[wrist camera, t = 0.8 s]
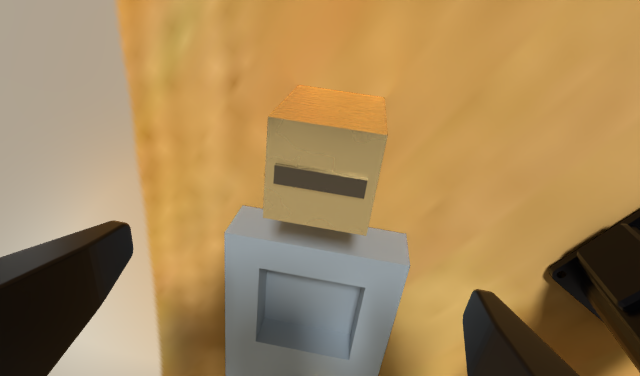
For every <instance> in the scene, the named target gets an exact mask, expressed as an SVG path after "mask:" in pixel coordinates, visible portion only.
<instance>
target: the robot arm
mask: <svg viewBox="0 0 640 376" xmlns="http://www.w3.org/2000/svg"><path fill="white" fill-rule="evenodd" d="M132 254H133V242H132V235H131V229H130V226H129V225H128V224H127V223H124V222H119V221H109V222H106V223H103V224H100V225H97V226H94V227H91V228H88V229H85V230H82V231H79V232H76V233H73V234H70V235H67V236H64V237H61V238H58V239H55V240H52V241H49V242H46V243H43V244H40V245H37V246H34V247H31V248H28V249H24V250H21V251H18V252H16V253H13V254H10V255H6V256H3V257H1V258H0V376H47V375H48V374H49V373H50V371H51V370H52V369H53V367H54V366H55V365H56V364H57V362H58V361H59V360H60V358H61V357H62V356H63V354H64V353H65V352H66V351H67V349H68V348H69V347H70V345H71V344H72V343H73V341H74V340H75V339H76V337H77V336H78V335H79V334H80V332H81V331H82V330H83V328H84V327H85V326H86V325H87V323H88V322H89V321H90V319H91V318H92V317H93V315H94V314H95V313H96V311H97V310H98V309H99V307H100V306H101V305H102V303H103V302H104V300H105V299H106V297H107V295H108V294H109V292H110V291H111V289H112V287H113V286H114V284H115V282H116V281H117V279H118V278H119V276H120V274H121V273H122V271H123V269H124V268H125V266H126V265H127V263H128V261H129V260H130V258H131V256H132ZM560 271H563V272H562V273H559V274H557V273H558V272H560ZM549 273H550V275H551V276H552V278H553V279H554V280H555V281H556V282H557V283H558V284H560V285H561V286H562V287H563V288H564V289H565V290H567V291H568V292H569V293H570V294H571V295H572V296H574V297H575V298H576V299H577V300H578V301H579V302H581V303H582V304H583V305H584V306H585V307H586V308H588V309H589V310H590V311H591V312H592V313H593V314H595V315H596V316H597V317H598V318H599V319H600V320H602V321H603V322H604V323H605V325H606V326H607V327H608V329H609V330H610V332H611V333H612V334H613V336H614V337H615V339H616V340H617V341H618V343H619V344H620V346H621V347H622V348H623V350H624V351H625V353H626V354H627V355H628V357H629V358H630V360H631V361H632V362H633V364H634V365H635V367H636V368H637V369H638V371H639V372H640V210H639V211H637V212H635V213H634V214H632V215H631V216H629V217H628V218H626V219H625V220H623V221H621V222H620V223H618V224H617V225H615V226H614V227H612V228H610V229H609V230H607V231H606V232H604V233H603V234H601V235H599V236H598V237H596V238H595V239H593V240H592V241H590V242H588V243H587V244H585V245H584V246H582V247H581V248H579V249H577V250H576V251H574V252H573V253H571V254H570V255H568V256H566V257H565V258H563V259H562V260H560V261H559V262H557V263H556V264H554V265H552V266H551V267H550V269H549ZM463 331H464V341H465V352H466V363H467V374H468V376H579V375H578V374H577V373H576V372H575V371H574V370H573V369H572V368H571V367H570V366H569V365H568V364H567V363H566V362H565V361H564V360H563V359H561V358H560V357H559V356H558V355H557V354H556V353H555V352H554V351H553V350H552V349H551V348H550V347H549V346H548V345H547V344H546V343H545V342H544V341H543V340H542V339H541V338H540V337H539V336H538V335H537V334H535V333H534V332H533V331H532V330H531V329H530V328H529V327H528V326H527V325H526V324H525V323H524V322H523V321H522V320H521V319H520V318H519V317H518V316H517V315H516V314H515V313H514V312H513V311H512V310H511V309H510V308H508V307H507V306H506V305H505V304H504V303H503V302H502V301H501V300H500V299H499V298H498V297H497V296H496V295H495V294H494V293H492V292H490V291H485V290H479V289H476V290H474V291H473V292H472V294H471V297H470V299H469V302H468V304H467V306H466V309H465V311H464V314H463Z"/></svg>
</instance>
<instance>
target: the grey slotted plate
mask: <svg viewBox="0 0 640 376" xmlns="http://www.w3.org/2000/svg"><path fill="white" fill-rule="evenodd" d="M409 268H410V261H409V253H408V245H407V237H406V234H404V233H398V232H392V231H387V230H381V229H375V228H369V227H368V231H367V235H366V236H364V235H358V234H352V233H347V232H341V231H335V230H329V229H324V228H318V227H312V226H307V225H301V224H295V223H290V222H284V221H278V220H272V219H267V218H263V209H260V208H254V207H249V206H242V207H241V209H240V210H239V212H238V213H237V215H236V216H235V218H234V219H233V221H232V222H231V224H230V225H229V227H228V228H227V230H226V231H225V373H226V376H378V374H379V371H380V367H381V364H382V360H383V357H384V354H385V350H386V347H387V343H388V340H389V336H390V333H391V330H392V326H393V323H394V319H395V316H396V313H397V309H398V306H399V302H400V299H401V295H402V292H403V289H404V285H405V282H406V278H407V275H408V272H409Z"/></svg>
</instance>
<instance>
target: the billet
mask: <svg viewBox="0 0 640 376" xmlns="http://www.w3.org/2000/svg"><path fill="white" fill-rule="evenodd" d="M387 136H388V133H387V121H386V109H385V97H378V96H371V95H364V94H358V93H351V92H344V91H337V90H331V89H324V88H317V87H311V86H304V85H298V86H297V87H296V88H295V89H294V90H293V91H292V92H291V93H290V94H289V95H288V96H287V97H286V98H285V99H284V101H283V102H282V103H281V104H280V105H279V106H278V107H277V108H276V109H275V110H274V111H273V112H272V113H271V114H270V115H269V116H268V126H267V146H266V165H265V185H264V204H263V218H267V219H272V220H278V221H284V222H290V223H295V224H301V225H307V226H312V227H318V228H324V229H329V230H335V231H341V232H347V233H352V234H358V235H364V236H366V235H367V231H368V226H369V221H370V216H371V212H372V207H373V202H374V198H375V193H376V188H377V183H378V179H379V174H380V169H381V164H382V160H383V155H384V150H385V146H386V141H387Z"/></svg>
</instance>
